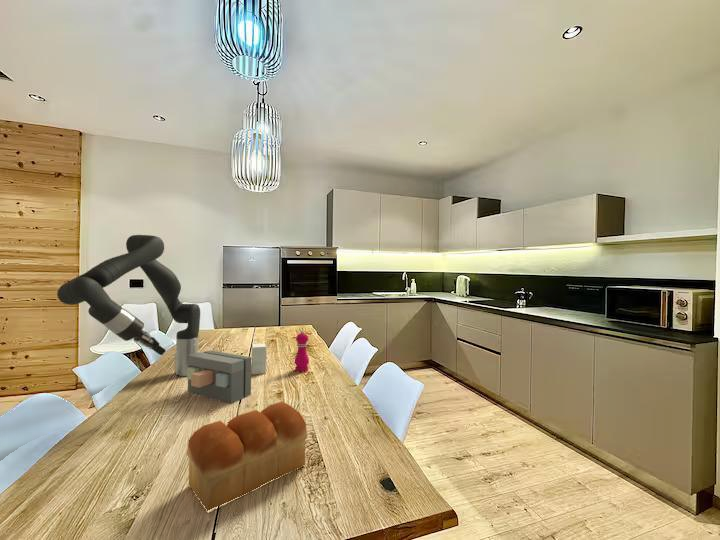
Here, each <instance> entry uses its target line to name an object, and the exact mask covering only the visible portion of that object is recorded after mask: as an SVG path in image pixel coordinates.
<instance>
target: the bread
mask: <svg viewBox="0 0 720 540" xmlns="http://www.w3.org/2000/svg"><path fill="white" fill-rule="evenodd" d="M307 438H308V430H307V423H306V421H305V419H304V417H303V416H302V414H301V412H299V411H298V410H297V409H296V408H294V407H293V406H291V405H290V404H288V403H286V402H284V401H279V402H276V403H273V404H269V405H267V406H266V407H265V408H263V409H262V410H261V411H259V410H257V409H254V410H252V411H247V412H245V413H242V414H241V413H240V414H238V415H236V416H235V417H233V418H232V419H230V420H229V421H228V423H227V424H225V423H224V422H223V421H221V420H218V421H214V422H211V423H209V424H204V425H203V426H201V427H199V428H198V429H197V430H195V431H193V434H192V435H191V436H190V438H189V439H188V441H187V450H186V455H187V457H188V486H189V485H190V487H191V488H192V490H193V491H194V492H195V494H196V495H197V497H198V498H199V499H200V501H201V502H202V504H203V505H204V506H205V508H206V509H207V511H208V510H210V509H212V508H214V507H217V506H220V505H222V504H224V503H226V502H229V501H231V500H233V499H235V498H237V497H240V496H242V495H244V494H246V493H248V492H250V491H252V490H254V489H256V488H258V487H260V486H261V485H263V484H265V483H267V482H269V481H271V480H273V479H276V478H278V477H280V476H282V475H284V474H286V473H289V472H291V471H293V470H295V469H297V468H299V467H301V466H303V465H305V466H306V439H307ZM303 467H304V466H303ZM301 468H302V467H301ZM299 469H300V468H299ZM297 470H298V469H297ZM295 471H296V470H295ZM293 472H294V471H293ZM291 473H292V472H291ZM289 474H290V473H289ZM190 487H189V488H190ZM192 490H191V491H192Z"/></svg>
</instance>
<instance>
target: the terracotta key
mask: <svg viewBox="0 0 720 540" xmlns="http://www.w3.org/2000/svg"><path fill="white" fill-rule="evenodd" d="M213 382H214V370H211V369H206V370H202V371H199V372H196V373H193V374H191V386H195V387H199V388H200V387H202V386H205V385H208V384H211V383H213Z"/></svg>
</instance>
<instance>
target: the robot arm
mask: <svg viewBox="0 0 720 540" xmlns="http://www.w3.org/2000/svg"><path fill="white" fill-rule="evenodd" d="M125 245H126V246H125V247H126V250H127V253H124V254H121V255H117V256H114V257H110V258H108V259H106V260H104V261H102V262H100V263H99V264H96V266H94V267H92V268H90V269H89V270H87V271H86V272H85V273H83V274H80V275H78V276H77V277H74V278H72V279H70V280H68V281H66V282H65V283H63V284H61V286H60V287H59V288H58V289H57V293H56V295H57V299H58V300H59V301H60V302H61V303H63V304H65V305H70V306H73V305H78V304H82V303H84V302H86V303H87V304H88V305H89V306H90V307H89V308H88V311H87V312H88V314H89V315H90V317H92V318H93V319H94V320H95V321H97V322H99V323H101V325H103V326H105V328H106V329H107V330H109V331H110V332H111V333H113V334H115V335H116V336H118V337H119V338H120V339H122V340H124V341H125V342H126V341H127V342H128V341H131V340H133V341H134V342H136V343H138V344H140V345H141V346H143V347H146V348H148V349H149V350H152V351H153V352H155V353H156V354H158V355H159V356H163V355H164V354H165V353H166V351H167V350H166V349H165V348H164V347H162V346H161V345H160V342H159V341H158V340H156V338H155V337H153V336H152V335H150V333H149V332H147V331H145V330H143V329H144V327H145V323H144V322H143V321H141V320H140V319H139V318H138V317H137V316H135V315H133V314H132V312H130V311H128V310H127V309H126V308H123V307H122V306H121V305H119V304H118V303H117V302H116V301H114V300H112V299H111V297H110V296H109V294H108V293H107V292H106V290H105V289H104V288H106V287H108V286H110V285H111V284H112V283H114V282H116V281H117V280H118V279H120V278H121V277H123V276H125V275H126V274H127V273H130V272H131V271H133V270H135V269H137V268H140V269H141V270H142V271H143V273H145V275H146V277H147V278H148V280H149V281H150V282H151V284H152V285H153V288H154V289H155V290H156V291H157V294H159V295H160V297H161V298H162V300H163V302H164V304H165V305H166V307H167V309H168V311H169V313H170V315H171V317H172V319H173V321H174V322H176V323H178V324H187V326H186V328H185V329H181V330H179V331H177V332H176V337H175V338H176V339H175V340H176V348H175V349H176V351H175V354H174V374H175V373H176V374H175V376H177V375H179V376H178V377H187V368H188V356H189V355H193V354H196V353H199V331H200V323H201V309H200V308H201V307H200V306H199V304H196V303H182V302H181V301H180V300H179V295H180V293H181V291H182V286H181V283H180V280H179V279H178V277H177V275H176V273H174V272H173V270H171V269H170V268H168V267H167V266H166V265H164V264H162V263H161V262H160V261H158V260H157V259H158V258H160V257H161V256H162V255H163V253H164V251H165V243H164V241H163V239H162V238H160V237H159V236H156V235H150V234H148V235H147V234H131V235H130V236H129V237H128V238H127V240H126V243H125Z"/></svg>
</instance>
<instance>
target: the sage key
mask: <svg viewBox="0 0 720 540" xmlns="http://www.w3.org/2000/svg"><path fill="white" fill-rule="evenodd" d="M199 371H200V367H196V366H192V367H189V368H187V376H186V378H187V380H188V379H189V380H191V374H193V373H196V372H199Z"/></svg>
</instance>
